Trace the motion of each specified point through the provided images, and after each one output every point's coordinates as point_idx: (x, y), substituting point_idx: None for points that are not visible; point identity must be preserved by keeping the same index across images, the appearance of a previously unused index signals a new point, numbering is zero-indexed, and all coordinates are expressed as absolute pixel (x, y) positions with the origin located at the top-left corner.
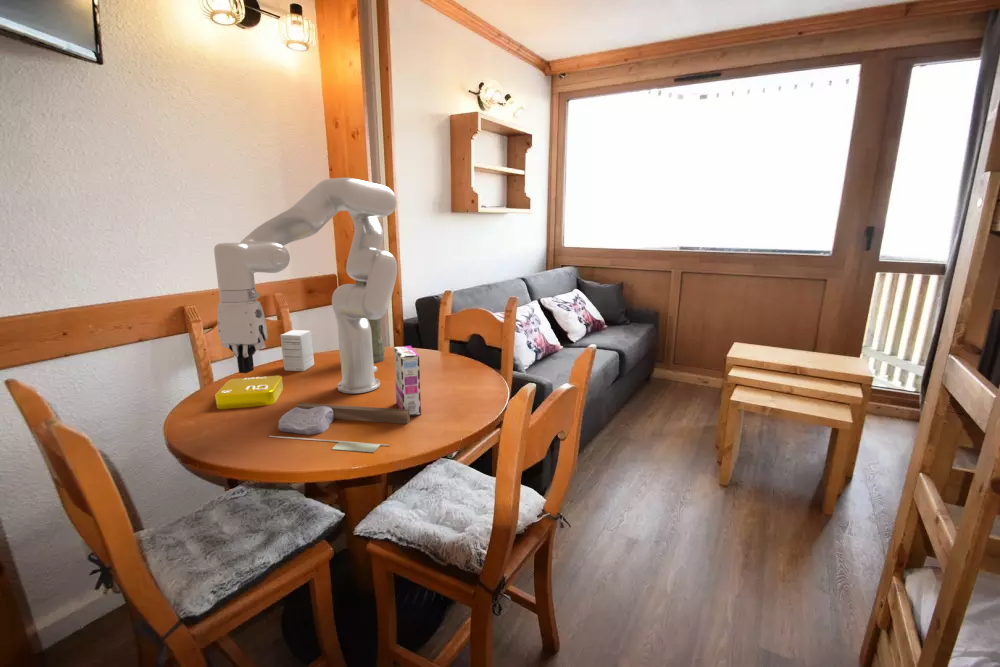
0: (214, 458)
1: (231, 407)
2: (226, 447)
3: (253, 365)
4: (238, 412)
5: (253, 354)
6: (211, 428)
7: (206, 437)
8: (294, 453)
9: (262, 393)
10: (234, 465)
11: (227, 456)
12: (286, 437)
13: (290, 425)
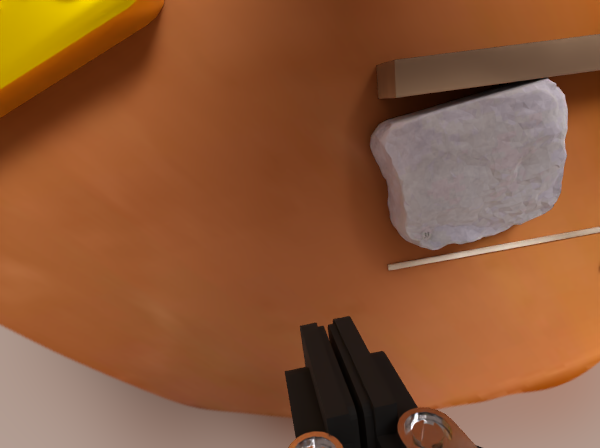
0: None
1: (19, 104)
2: None
3: (387, 357)
4: (102, 135)
5: (431, 416)
6: (148, 283)
7: (199, 334)
8: (515, 317)
9: (122, 13)
10: None
11: None
12: (447, 258)
13: (461, 241)
